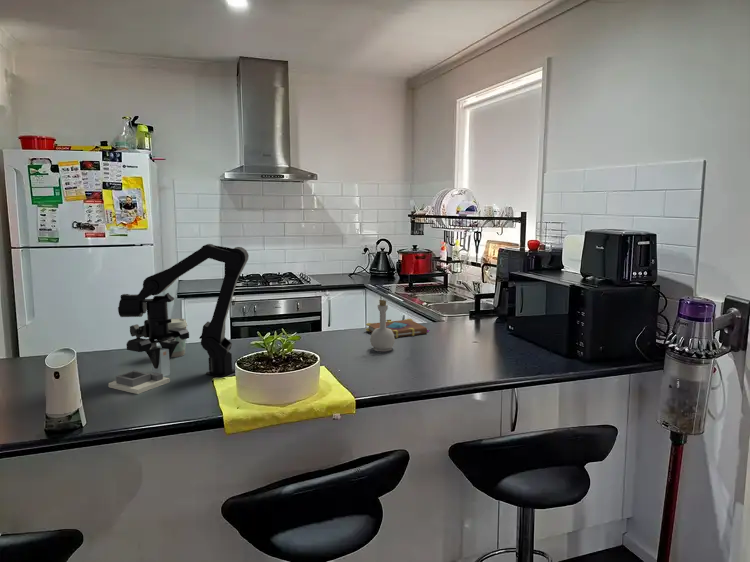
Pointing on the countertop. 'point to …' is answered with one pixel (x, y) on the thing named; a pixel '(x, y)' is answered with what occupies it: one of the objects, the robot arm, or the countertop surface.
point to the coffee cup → (181, 346)
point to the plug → (163, 363)
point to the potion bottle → (382, 332)
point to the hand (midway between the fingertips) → (160, 366)
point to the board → (138, 381)
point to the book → (401, 327)
